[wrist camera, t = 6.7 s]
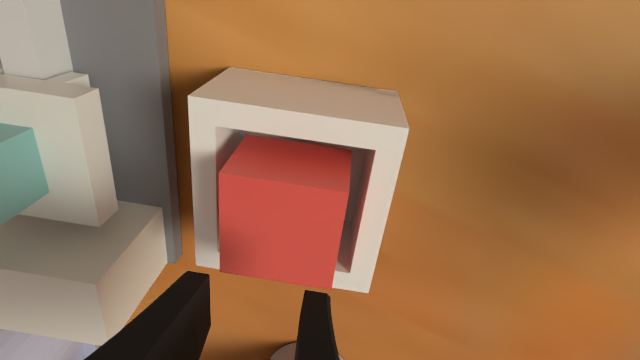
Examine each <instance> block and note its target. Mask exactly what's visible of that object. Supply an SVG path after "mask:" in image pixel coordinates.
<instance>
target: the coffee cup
mask: <svg viewBox="0 0 640 360" xmlns="http://www.w3.org/2000/svg"><path fill="white" fill-rule="evenodd" d="M296 343H297V342H295V343H291V344H288V345H285V346H283V347H282V348H280V349H278V350H277V351H276V352H275V353H274V354H273V355H272V357H271V358H270V360H294V358H295V350H296ZM338 355H339V354H338ZM339 359H340V360H344V359H343V358H342V357H341V356H340V355H339Z"/></svg>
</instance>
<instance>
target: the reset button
mask: <svg viewBox="0 0 640 360" xmlns="http://www.w3.org/2000/svg"><path fill="white" fill-rule="evenodd" d="M351 154H352V150H346V149H340V148H333V147H327V146H320V145H313V144H307V143H300V142H293V141H287V140H280V139H274V138H267V137H260V136H254V135H246V136H245V138H244V139H243V140H242V142H241V143H240V144H239V146H238V147H237V148H236V150H235V151H234V152H233V154H232V155H231V157H230V158H229V159H228V161H227V162H226V163H225V165H224V166H223V167H222V169H221V170H220V172H219V253H220V272H224V273H230V274H236V275H242V276H248V277H254V278H261V279H267V280H273V281H279V282H285V283H292V284H298V285H304V286H310V287H316V288H322V289H329V290H331V289H332V284H333V278H334V273H335V267H336V262H337V256H338V251H339V246H340V240H341V235H342V229H343V224H344V218H345V213H346V207H347V202H348V197H349V188H350V171H351Z"/></svg>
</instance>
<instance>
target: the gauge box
mask: <svg viewBox="0 0 640 360" xmlns="http://www.w3.org/2000/svg"><path fill="white" fill-rule="evenodd" d="M188 114H189V134H190V154H191V174H192V194H193V215H194V235H195V255H196V265H197V266H203V267H209V268H215V269H220V253H219V172H220V170H221V169H222V167H223V166H224V165H225V163H226V162H227V161H228V159H229V158H230V157H231V155H232V154H233V152H234V151H235V150H236V148H237V147H238V146H239V144H240V143H241V142H242V140H243V139H244V138H245V136H246V135H254V136H260V137H267V138H274V139H280V140H287V141H293V142H300V143H307V144H313V145H320V146H327V147H333V148H340V149H346V150H352V154H351V171H350V188H349V197H348V202H347V207H346V213H345V218H344V224H343V229H342V235H341V240H340V246H339V251H338V256H337V262H336V267H335V273H334V278H333V284H332V287H333V288H339V289H345V290H351V291H357V292H364V293H369V289H370V285H371V281H372V277H373V273H374V269H375V265H376V261H377V257H378V253H379V249H380V245H381V240H382V236H383V232H384V228H385V224H386V220H387V216H388V212H389V208H390V204H391V200H392V196H393V192H394V188H395V184H396V180H397V176H398V172H399V168H400V164H401V160H402V156H403V152H404V148H405V144H406V140H407V136H408V132H409V126H408V123H407V119H406V116H405V113H404V110H403V107H402V104H401V100H400V97H399V94H398V91H392V90H385V89H379V88H372V87H365V86H358V85H351V84H344V83H337V82H331V81H324V80H317V79H310V78H303V77H296V76H289V75H283V74H276V73H269V72H262V71H255V70H248V69H241V68H235V67H229V68H228V69H226V70H225V71H223V72H222V73H220V74H219V75H217V76H216V77H215V78H213V79H212V80H210V81H209V82H207V83H206V84H204V85H203V86H201V87H200V88H198V89H197V90H195V91H194V92H192V93H191V94H189V95H188Z"/></svg>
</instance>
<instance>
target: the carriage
mask: <svg viewBox="0 0 640 360" xmlns="http://www.w3.org/2000/svg"><path fill="white" fill-rule="evenodd" d="M117 210H118V204H117V198H116V192H115V186H114V180H113V174H112V167H111V161H110V155H109V149H108V143H107V137H106V131H105V125H104V119H103V113H102V106H101V100H100V94H99V88H93V87H90V83H89V78H88V74H82V73H75V72H69V73H66V74H62V75H59V76H56V77H53V78H50V79H47V80H39V79H33V78H26V77H19V76H13V75H6V74H5V73H4V70H3V66H2V63H1V62H0V226H1V225H3V224H4V223H6V222H7V221H8V220H10V219H11V218H13V217H14V216H16V215H17V214H20V215H26V216H33V217H39V218H45V219H51V220H58V221H64V222H70V223H76V224H83V225H89V226H95V227H100V226H101V225H103V224H104V223H105V222H106V221H107V220H108V219H109V218H110V217H111V216H112V215H113V214H114V213H115V212H116V211H117Z"/></svg>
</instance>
